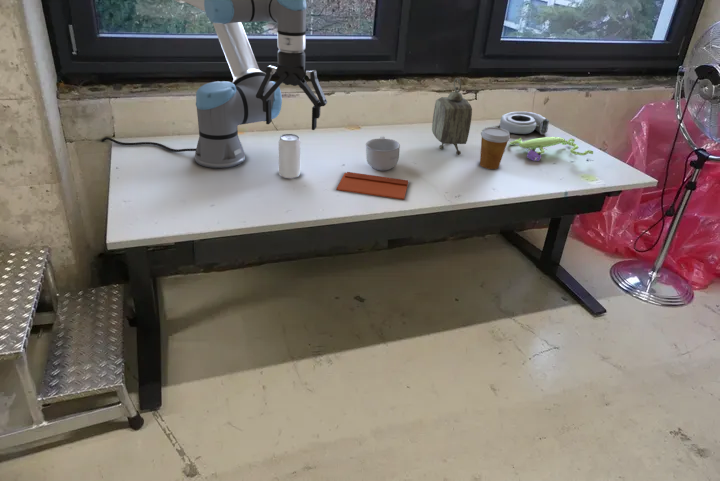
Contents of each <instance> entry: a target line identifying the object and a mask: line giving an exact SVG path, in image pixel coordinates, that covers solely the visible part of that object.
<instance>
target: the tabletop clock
mask: <svg viewBox="0 0 720 481" xmlns="http://www.w3.org/2000/svg"><path fill="white" fill-rule="evenodd" d="M456 82H458V84H459V86H456ZM453 90H454V91H452V92H450V93H449V94H448V96H441V97H439V98H437V99H436V100H435V103H434V109H433V116H432V125H431V131H432V134H433V136H434V137H435V139H436V140H437V141H439V142H440V143H441V144H440V145H439V146H438V149H439V150H441V151H442V150H444V145H453V146H454V147H455V150H456V152H455V153H456V155H457V156H461V154H462V151H461V150H459V146H458V145H466V144H467V142H468V139H469V134H470V130H471V124H472V116H473V107H472V105H471V104H470V102H469V101H468V100H467V99H466V98H465V97H464V96H463V94H462V93H461V90H462V81H461V79H460V78H458V77H456V78H455V79H454V80H453Z"/></svg>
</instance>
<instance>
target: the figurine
mask: <svg viewBox="0 0 720 481" xmlns="http://www.w3.org/2000/svg"><path fill="white" fill-rule="evenodd" d="M515 144H516V145H517V144H518V146H519V147H520V148H523V149H525V150H526V151H527V155H526V158H528V159H529V160H531V161H533V162H536V161H537V162H539V161H540V160H541V158H542V155H544V154H545V153H546V151H548V149H547V148H548V147H552V146H556V145H559V144H560V145H563V146H566V145H568V148H570V147H572V148H570V150H569V152H570V154H573V155H575V156H576V155H577V156H587V155H588V154H589V155H593V154H594V150H590V149H586V150H585V151H584V152H579V151H577V150H578V149H579V145H578V144H577V143H575V138H572V137H571V138H569V139H568V140H566V139H565V138H564V137H559V136H545V137H537V138H532V139H527V140H524V141H523V139H522V137H519V138H517V139H515V140H511V141H509V143H508V145H510V146H512V145H515ZM537 149H539V151H536V150H537ZM545 150H546V151H545Z"/></svg>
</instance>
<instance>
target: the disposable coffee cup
mask: <svg viewBox="0 0 720 481" xmlns="http://www.w3.org/2000/svg"><path fill="white" fill-rule="evenodd" d="M480 136H481V139H480V140H481V141H480V158H479V166H480V167H482V168H484V169H486V170H487V169H488V170H498V169H499V167H500V164H501V162H502V159H503V156H504V154H505V150H506V148H507V145H508V142H510V139H511V133H510V132H508V131H507V130H505V129H501V128H500V127H496V126H495V127H494V126H487V127H484V128H483V129H482V131H481V132H480Z"/></svg>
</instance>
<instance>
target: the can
mask: <svg viewBox="0 0 720 481" xmlns="http://www.w3.org/2000/svg"><path fill="white" fill-rule="evenodd" d="M278 175H279V176H280V177H281V178H284V179H296V178H298V177H300V175H301V140H300V136H299V135H297V134H294V133H283V134H281V135H280V136H279V140H278Z"/></svg>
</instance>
